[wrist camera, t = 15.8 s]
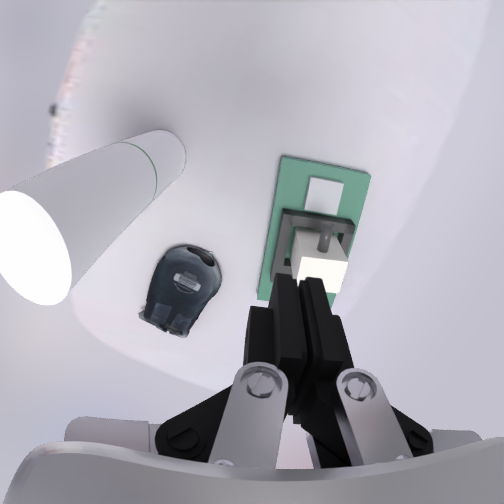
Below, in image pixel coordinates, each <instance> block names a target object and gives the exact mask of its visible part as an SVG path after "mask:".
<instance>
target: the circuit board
mask: <svg viewBox="0 0 504 504" xmlns="http://www.w3.org/2000/svg"><path fill="white" fill-rule="evenodd" d="M370 178H371V175H370V174H368V173H366V172H362V171H357V170H353V169H348V168H344V167H339V166H334V165H329V164H324V163H319V162H314V161H309V160H303V159H297V158H292V157H286V156H282V157H281V163H280V169H279V175H278V181H277V187H276V193H275V198H274V204H273V210H272V216H271V221H270V227H269V233H268V238H267V244H266V250H265V255H264V261H263V266H262V272H261V277H260V283H259V288H258V296H257V300H265V301H269V300H270V296H271V291H272V286H273V282H274V277H275V273H276V272H277V273H284V274H291V275H292V279H293V274H292V268H291V261H290V254H289V253H290V248H291V243H292V237H293V232H294V226H302V227H308V228H314V229H322V225H323V222H329V223H332V224H333V225H334V228H333V232H334V233H335V235H336V237H337V239H338V241H339V243H340V245H341V247H342V249H343V251H344V254H345V256H346V258H347V260H348V257H349V253H350V250H351V247H352V244H353V240H354V237H355V234H356V230H357V227H358V223H359V220H360V216H361V213H362V209H363V205H364V202H365V198H366V194H367V190H368V186H369V183H370ZM326 294H327V298H328V301H329V305H330V308H331V307H332V304H333V301H334V299H335V296H336V293H329V292H326Z"/></svg>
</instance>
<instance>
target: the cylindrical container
mask: <svg viewBox="0 0 504 504" xmlns="http://www.w3.org/2000/svg"><path fill="white" fill-rule="evenodd" d="M185 163H186V153H185V149H184V146H183V144H182V142H181V141H180V140H179V139H178V137H177V136H175V135H174V134H172V133H170V132H168V131H164V130H155V131H150V132H147V133H144V134H141V135H138V136H134V137H131V138H128V139H125V140H122V141H119V142H116V143H114V144H111V145H108V146H105V147H102V148H99V149H97V150H94V151H91V152H89V153H86V154H84V155H81V156H79V157H76V158H74V159H71V160H69V161H66V162H64V163H62V164H59V165H57V166H55V167H53V168H50V169H48V170H46V171H44V172H42V173H40V174H37V175H35V176H33V177H31V178H29V179H27V180H25V181H23V182H21V183H19V184H17V185H15V186H13V187H11V188H9V189H7V190H6V191H4V192H2V193H0V272H1V274H2V275H3V277H4V278H5V279H6V281H7V282H8V283H9V284H10V285H11V286H12V287H13V288H14V289H15V290H16V291H17V292H18V293H19V294H21V295H22V296H24V297H25V298H27V299H28V300H30V301H33V302H35V303H38V304H42V305H53V304H57V303H59V302H60V301H62V300H63V299H64V298H65V297H66V296H67V294H68V293H69V292H70V291H71V289H72V288H73V287H74V286H75V285H76V283H77V282H78V281H79V280H80V279H81V278H82V276H83V275H84V274H85V273H86V272H87V271H88V269H89V268H90V267H91V266H92V265H93V264H94V263H95V261H96V260H97V259H98V258H99V257H100V256H101V255H102V254H103V252H104V251H105V250H106V249H107V248H108V247H109V246H110V245H111V244H112V243H113V242H114V240H115V239H116V238H117V237H118V236H119V235H120V234H121V233H122V232H123V231H124V230H125V229H126V228H127V227H128V226H129V225H130V224H131V223H132V222H133V221H134V220H135V219H136V218H137V217H138V216H139V214H140V213H141V212H142V211H143V210H144V209H145V208H146V207H147V206H148V205H150V204H151V203H152V202H153V201H154V200H155V199H156V198H157V197H158V196H159V195H160V194H161V193H162V192H163V191H164V190H165V189H166V188H167V187H168V186H169V185H170V184H171V183H172V182H173V181H175V180H176V179H177V178H178V177H179V176H180V174H181V173H182V171H183V169H184V167H185Z"/></svg>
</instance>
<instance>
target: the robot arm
mask: <svg viewBox="0 0 504 504" xmlns="http://www.w3.org/2000/svg"><path fill="white" fill-rule="evenodd" d="M287 413H288V415H293V424H301V427H302V428H303V429H304V430H305V431H307V433H306V439H307V443H308V447H309V451H310V455H311V459H312V463H313V467H314V469H275V467H276V462H277V456H278V450H279V444H280V438H281V431H282V425H283V422H284V420H285V418H286V415H287ZM3 504H504V437H496V438H490V439H486V440H482V439H481V438H480V436H479V435H478V434H477V433H475V432H473V431H455V430H436V429H435V430H434V429H433V430H431V431H430V432H428V431H427V430H426V429H425V428H424V427H423V426H421V425H420V424H418V423H416V422H415V421H414V420H412V419H411V418H409V417H408V416H406V415H405V414H403V413H402V412H400V411H399V410H397V409H396V408H394V407H393V406H391V405H390V403H389V401H388V399H387V397H386V395H385V393H384V390H383V388H382V386H381V384H380V382H379V381H378V379H377V378H376V377H375V376H374V375H373V374H371V373H370V372H368V371H366V370H363V369H359V368H354V366H353V361H352V357H351V354H350V351H349V346H348V343H347V339H346V336H345V332H344V329H343V325H342V322H341V319H340V317H339V316H338V315H332V312H331V309H330V305H329V301H328V298H327V294H326V291H325V287H324V283H323V280H322V279H321V278H315V277H306V278H305V280H300V282H299V285H298V284H297V279H292V275H291V274H284V273H277V272H276V273H275V277H274V282H273V286H272V291H271V296H270V300H269V305H268V308H265V307H257V306H250V311H249V317H248V322H247V329H246V337H245V347H244V360H243V367H241V368H240V369H239V370H238V372H237V374H236V375H235V379H234V382H233V385H231V386H229V387H228V388H226V389H224V390H222V391H221V392H219V393H217V394H215V395H214V396H212V397H210V398H208V399H207V400H205V401H203V402H201V403H199V404H198V405H196V406H194V407H192V408H190V409H188V410H186V411H185V412H183V413H181V414H179V415H177V416H175V417H173V418H171V419H169V420H167V421H166V422H165V423H163V424H149V422H148V421H133V420H117V419H105V418H95V417H78V418H76V419H74V420H72V421H71V422H70V423H69V424H68V426H67V428H66V431H65V437H64V442H63V441H60V442H53V443H47V444H43V445H40V446H38V447H36V448H35V449H33V450H32V451H31V452H30V453H29V454H28V455H27V456H26V458H25V459H24V460H23V462H22V463H21V465H20V466H19V468H18V470H17V472H16V473H15V475H14V478H13V480H12V482H11V484H10V486H9V489H8V491H7V493H6V496H5V499H4V502H3Z"/></svg>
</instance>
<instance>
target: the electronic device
mask: <svg viewBox="0 0 504 504" xmlns="http://www.w3.org/2000/svg"><path fill="white" fill-rule="evenodd" d="M187 249H193V250H198V251H199V252H202V253H203V254H205V255H206V256H208V257H209V258H210V259H211V260H212V262H213V264H214V265H215V266H213V267H210V266H208V265H206V264H205V263H204V262H203V261H202V260H201V258H200V256H198V255H196V254H193V253H191V252H189V251H188V250H187ZM221 278H222V277H221V272H220V270H219V267H218V265H217V263H216V261H215V260H214V259H213V257H212V252H206V251H204V250H202V249H199V248H196V247H179V248H175V249H172V250H170V251H168V252H167V254H166V255H165V256H163V258H162V259H161V261H160V262H159V263H158V265H157V267H156V270H155V272H154V275H153V277H152V280H151V283H150V287H149V291H148V295H147V299H146V301H147V304H146V307H145V309H144V310H143V311H141V312H140V313H138V314H139V318H140V319H142V320H144V321H146V322H148V323H150V324H153V325H155V326H156V327H157V328H158V329H160V330H162V331H164V332H167V331H169V333H170V334H172V335H177V336H179V337H181V338H185V337H187V336H188V334H189V330H190V329H191V327H192V326H193V324H194V323H195V321H196V320H197V319H198V317H199V315H200V313H201V312H202V310H203V309H204V307H205V306H206V304H207V303H208V301H209V300H210V299H211V298H212V297H213V296H215V295H216V293H217V292H218V290H219V288H220V286H221V281H222V280H221Z"/></svg>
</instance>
